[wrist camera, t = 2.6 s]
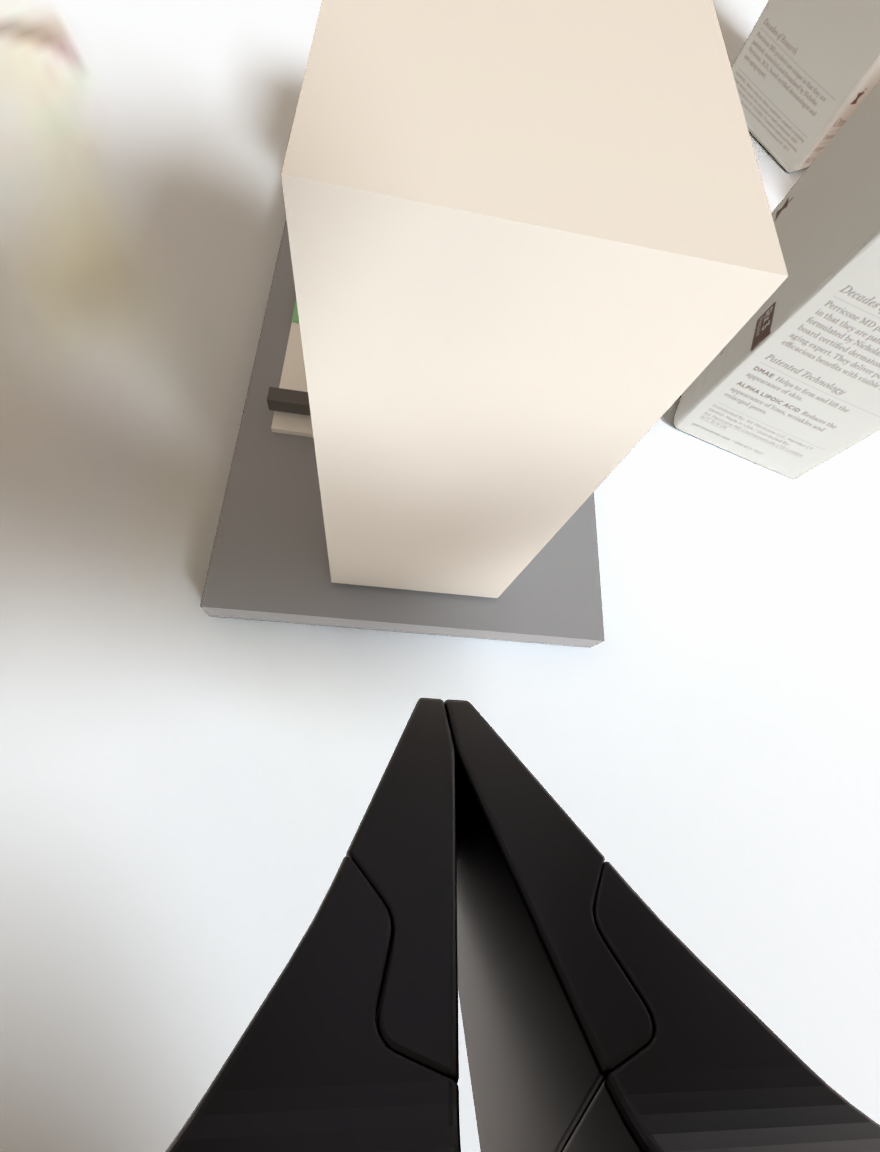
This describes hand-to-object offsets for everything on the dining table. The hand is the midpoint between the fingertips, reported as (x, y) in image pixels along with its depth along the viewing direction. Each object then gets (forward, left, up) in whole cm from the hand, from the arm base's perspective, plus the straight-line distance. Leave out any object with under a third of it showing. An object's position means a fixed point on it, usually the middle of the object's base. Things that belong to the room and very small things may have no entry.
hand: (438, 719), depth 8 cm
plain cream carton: (+9, +1, -5) cm, 10 cm away
